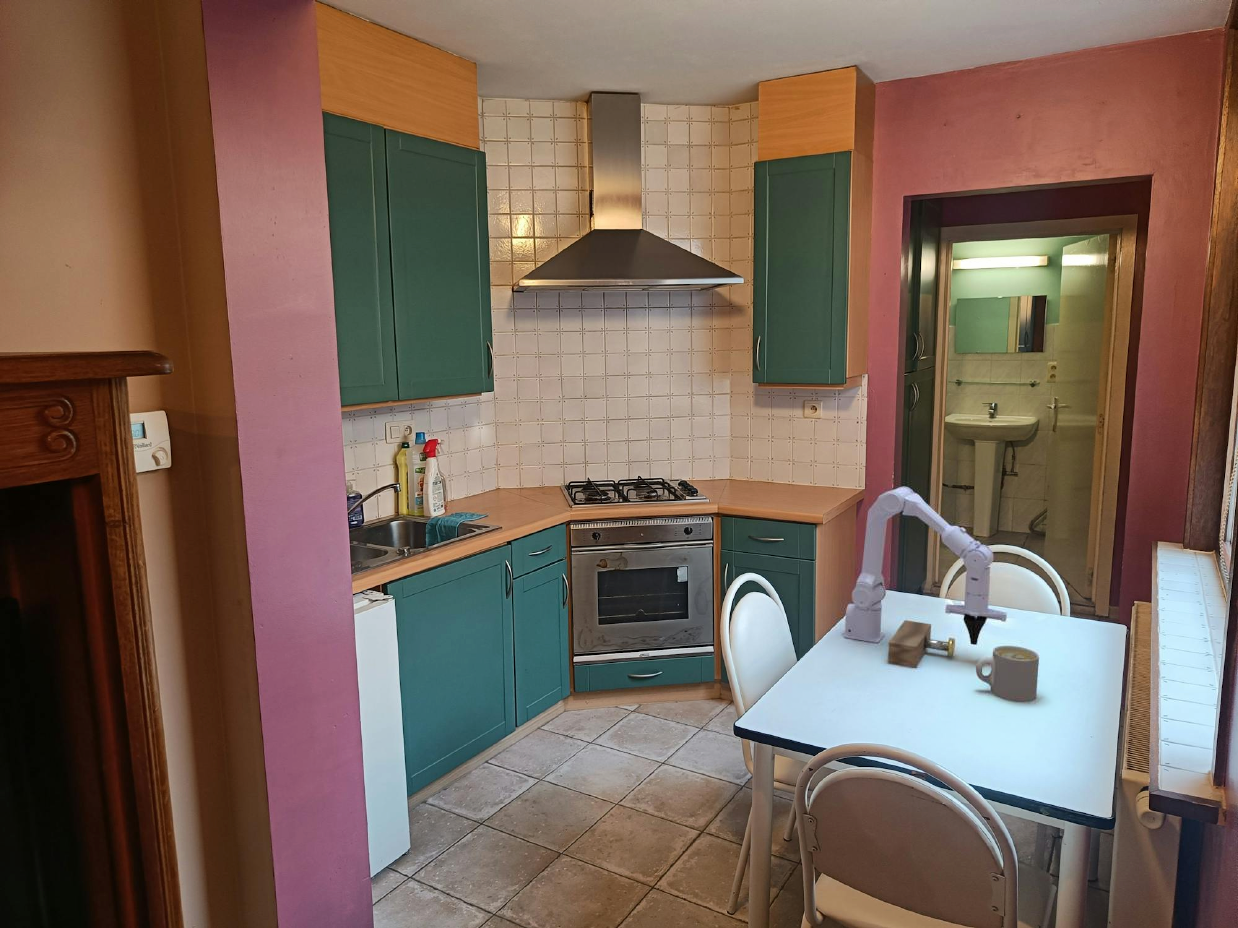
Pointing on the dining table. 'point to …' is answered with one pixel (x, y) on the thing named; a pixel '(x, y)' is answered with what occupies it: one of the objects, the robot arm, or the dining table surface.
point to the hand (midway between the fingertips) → (973, 643)
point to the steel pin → (941, 645)
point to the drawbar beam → (908, 644)
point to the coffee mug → (1011, 673)
